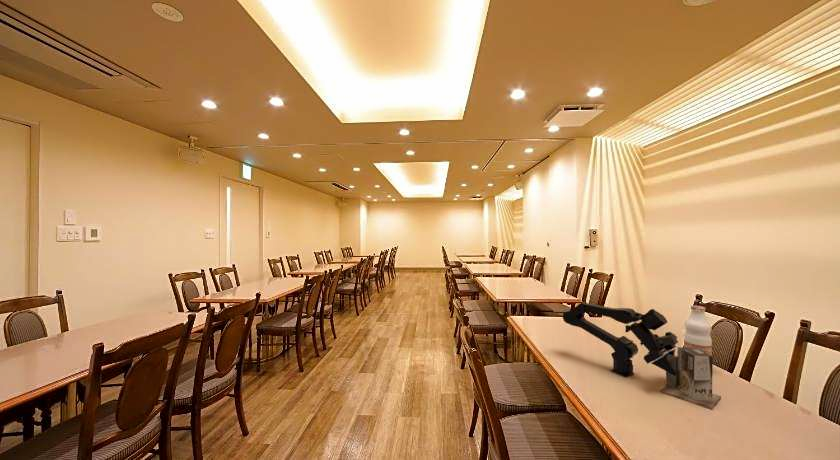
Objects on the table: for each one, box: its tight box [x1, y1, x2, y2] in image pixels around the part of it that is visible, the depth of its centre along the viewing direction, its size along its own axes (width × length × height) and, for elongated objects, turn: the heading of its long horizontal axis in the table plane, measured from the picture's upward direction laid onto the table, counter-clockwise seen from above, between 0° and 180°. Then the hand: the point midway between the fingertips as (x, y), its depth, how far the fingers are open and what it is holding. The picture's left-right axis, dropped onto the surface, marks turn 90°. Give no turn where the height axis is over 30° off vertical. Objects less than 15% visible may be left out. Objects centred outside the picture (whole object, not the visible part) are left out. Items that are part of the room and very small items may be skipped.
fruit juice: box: [683, 305, 713, 356], centre depth 143 cm, size 9×9×28 cm
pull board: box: [659, 354, 722, 411], centre depth 120 cm, size 15×13×13 cm
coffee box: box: [676, 346, 714, 401], centre depth 119 cm, size 9×6×16 cm
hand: (678, 372), depth 123 cm, fingers open, 7 cm apart
